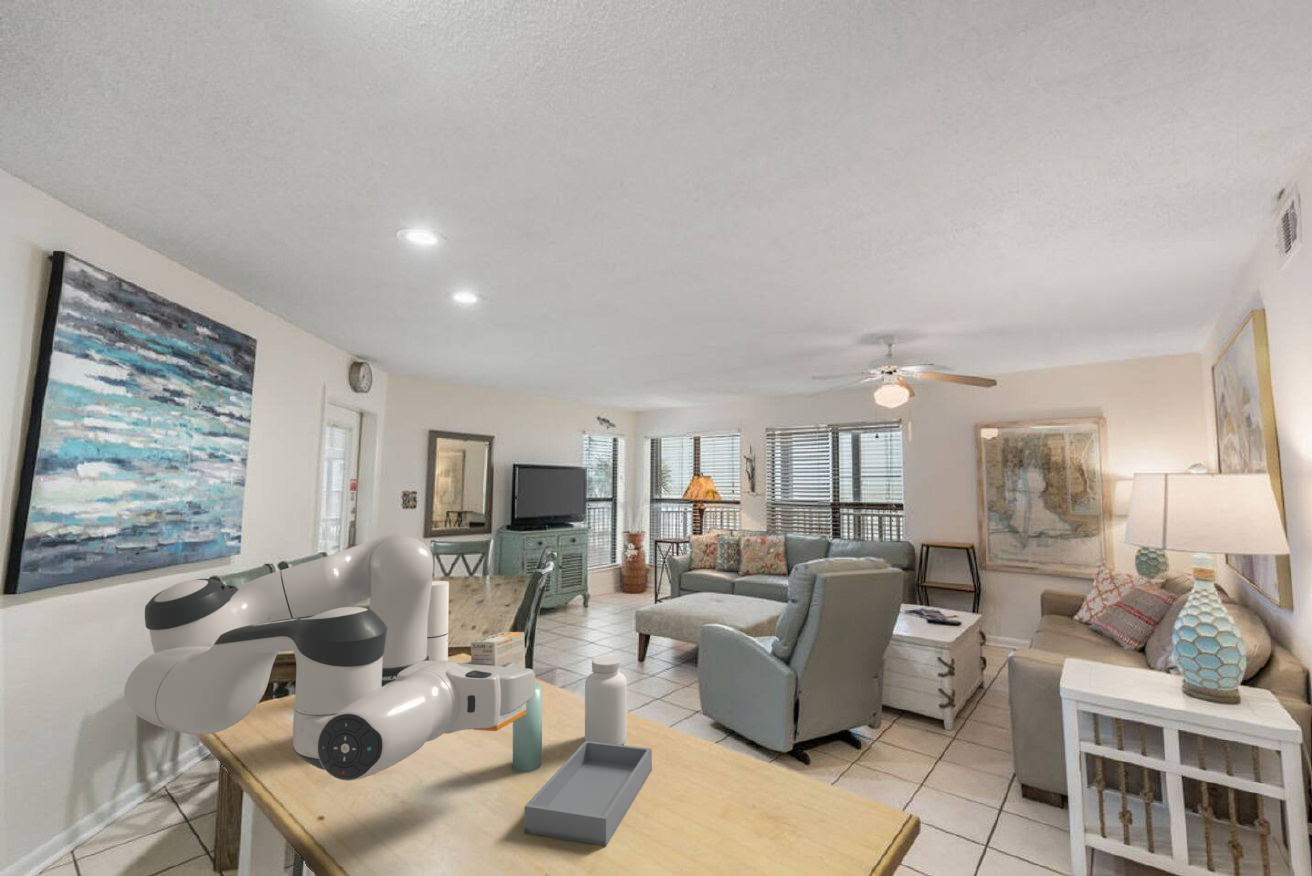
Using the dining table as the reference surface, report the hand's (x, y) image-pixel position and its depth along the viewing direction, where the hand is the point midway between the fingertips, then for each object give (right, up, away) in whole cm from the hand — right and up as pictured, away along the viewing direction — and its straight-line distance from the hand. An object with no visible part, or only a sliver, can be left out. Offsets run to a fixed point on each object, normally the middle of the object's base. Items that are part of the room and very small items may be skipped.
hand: (495, 666), depth 90 cm
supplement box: (+1, -9, -1) cm, 9 cm away
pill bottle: (+16, -21, +17) cm, 32 cm away
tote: (+16, -19, -3) cm, 25 cm away
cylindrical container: (-30, -25, +49) cm, 62 cm away
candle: (+3, -21, +8) cm, 22 cm away
